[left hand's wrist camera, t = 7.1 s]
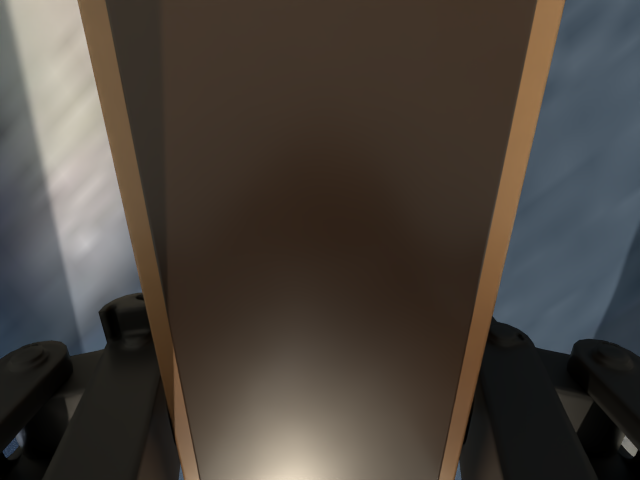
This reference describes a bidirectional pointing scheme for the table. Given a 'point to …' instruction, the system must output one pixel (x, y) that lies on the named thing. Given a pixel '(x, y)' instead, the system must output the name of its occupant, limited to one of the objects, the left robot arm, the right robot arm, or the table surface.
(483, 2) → the tray
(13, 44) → the table surface
